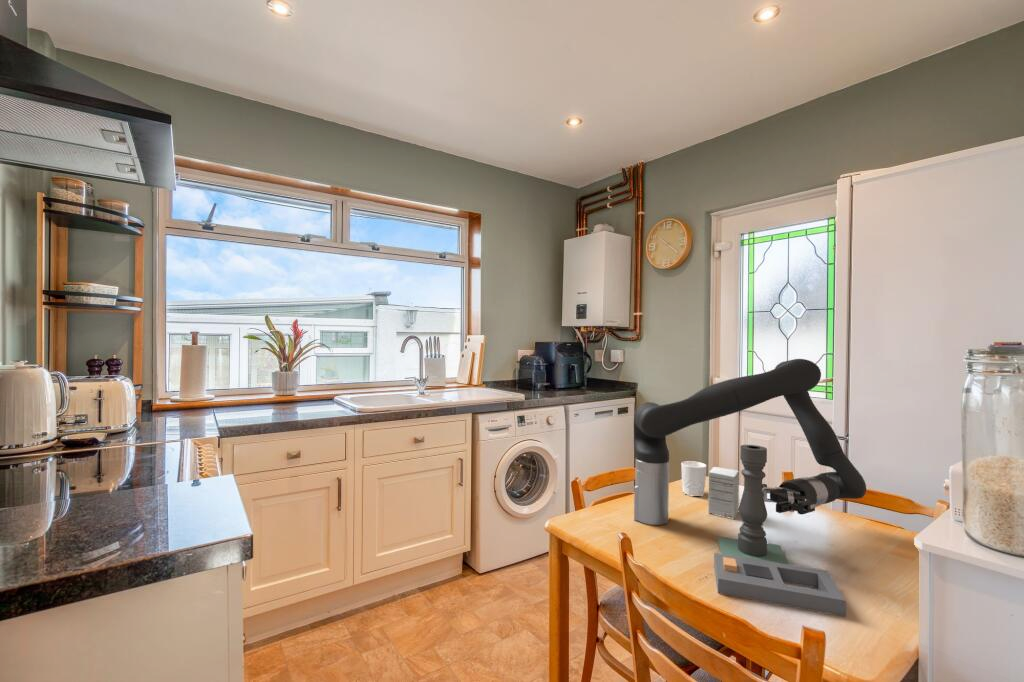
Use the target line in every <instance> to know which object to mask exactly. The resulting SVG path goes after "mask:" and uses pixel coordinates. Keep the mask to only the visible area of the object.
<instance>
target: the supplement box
mask: <svg viewBox="0 0 1024 682" xmlns="http://www.w3.org/2000/svg"><path fill="white" fill-rule="evenodd" d="M739 486H740V471H739V470H736V469H731V468H724V467H718V466H713V467H712V468H711V469H710V470H709V471H708V502H707V503H708V511H707V512H708V514H709V513H712V514H717V515H721V516H725V517H730V518H735V519H736V518H737V516H738V515H739V514H738V513H739V505H740V502H739V500H740V497H739V496H740V495H739V494H740V493H739V492H740V487H739ZM712 514H711V515H712ZM721 516H720V517H721ZM725 517H724V518H725ZM730 518H729V519H730Z"/></svg>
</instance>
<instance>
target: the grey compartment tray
mask: <svg viewBox="0 0 1024 682" xmlns="http://www.w3.org/2000/svg"><path fill="white" fill-rule="evenodd" d="M713 568H714V575H715V583H716V587H717V588H716V589H717V593H718V594H721V595H727V596H732V597H737V598H742V599H748V600H753V601H759V602H763V603H764V602H765V603H769V604H775V605H780V606H786V607H791V608H798V609H802V610H808V611H814V612H819V613H825V614H829V615H835V616H839V617H845V618H846V617H847V599H846V598H845V597H844V595H843V593H842V592H841V591H840V589H839V587H838V586H837V584H836V582H834V579H833V578H832V576H831V574H829V572H828V570H826V569H825V570H824V569H819V568H812V567H806V566H801V565H800V566H799V565H794V564H789V565H788V564H782V563H776V562H769V561H763V560H757V559H750V558H744V557H738V556H731V555H725V554H721V553H718V552H713ZM786 583H787V584H788V585H787V584H786ZM789 584H790V585H789ZM791 584H792V585H791ZM793 585H794V586H793ZM795 585H798V586H795ZM800 586H802V587H800ZM803 586H804V587H803ZM805 587H806V588H805ZM807 587H809V588H807ZM811 588H815V589H811ZM816 588H817V589H816Z"/></svg>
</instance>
